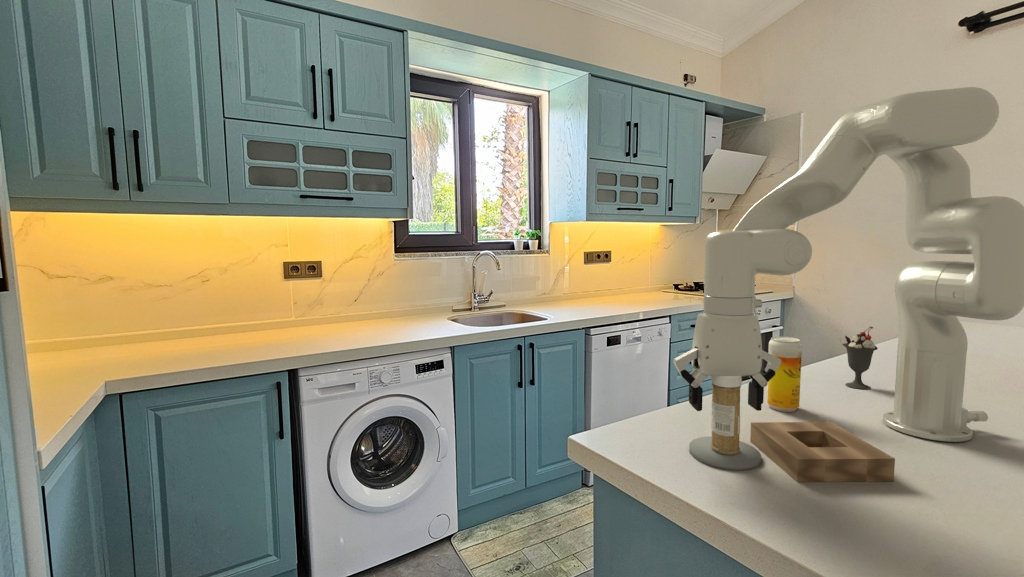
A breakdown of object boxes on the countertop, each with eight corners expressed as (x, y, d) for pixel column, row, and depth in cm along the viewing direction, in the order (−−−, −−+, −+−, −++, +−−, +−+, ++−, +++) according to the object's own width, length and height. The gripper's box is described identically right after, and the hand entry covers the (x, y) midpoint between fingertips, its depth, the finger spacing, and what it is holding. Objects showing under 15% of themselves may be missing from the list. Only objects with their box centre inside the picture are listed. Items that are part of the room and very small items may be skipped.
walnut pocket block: (830, 440, 83) (831, 421, 83) (893, 481, 69) (895, 458, 69) (750, 441, 84) (750, 422, 83) (797, 481, 69) (798, 459, 69)
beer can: (798, 414, 96) (802, 343, 94) (765, 409, 99) (768, 340, 98) (799, 405, 101) (802, 337, 100) (767, 401, 104) (769, 335, 103)
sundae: (882, 390, 110) (886, 328, 109) (853, 390, 110) (857, 328, 109) (861, 382, 117) (865, 323, 115) (834, 382, 117) (838, 323, 115)
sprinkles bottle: (745, 450, 78) (747, 372, 76) (729, 458, 75) (731, 378, 74) (720, 441, 82) (721, 366, 80) (704, 448, 79) (705, 371, 78)
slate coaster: (741, 440, 84) (741, 436, 84) (774, 470, 73) (774, 465, 73) (680, 440, 84) (680, 436, 84) (703, 470, 73) (704, 465, 73)
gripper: (769, 303, 80) (765, 400, 81) (668, 304, 80) (666, 401, 82) (795, 309, 72) (790, 416, 74) (683, 310, 73) (681, 416, 74)
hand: (725, 408), depth 78 cm, fingers open, 9 cm apart
